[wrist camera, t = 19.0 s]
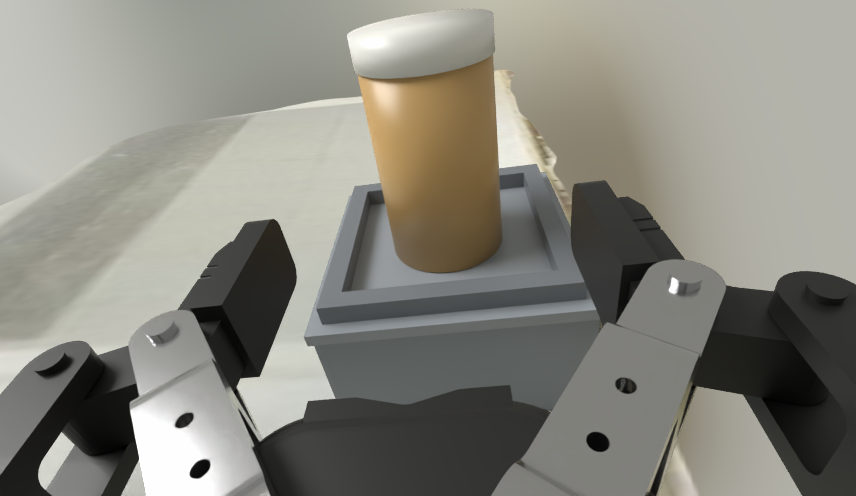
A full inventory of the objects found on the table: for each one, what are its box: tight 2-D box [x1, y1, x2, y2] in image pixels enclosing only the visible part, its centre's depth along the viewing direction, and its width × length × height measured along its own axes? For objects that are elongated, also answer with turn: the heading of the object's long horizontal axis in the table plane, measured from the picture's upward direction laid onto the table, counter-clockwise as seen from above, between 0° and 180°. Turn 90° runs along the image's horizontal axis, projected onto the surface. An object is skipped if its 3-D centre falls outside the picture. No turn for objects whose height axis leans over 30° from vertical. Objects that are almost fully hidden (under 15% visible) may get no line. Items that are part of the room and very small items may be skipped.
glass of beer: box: [347, 9, 502, 273], centre depth 22 cm, size 6×6×11 cm
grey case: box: [304, 164, 601, 410], centre depth 27 cm, size 13×13×8 cm
